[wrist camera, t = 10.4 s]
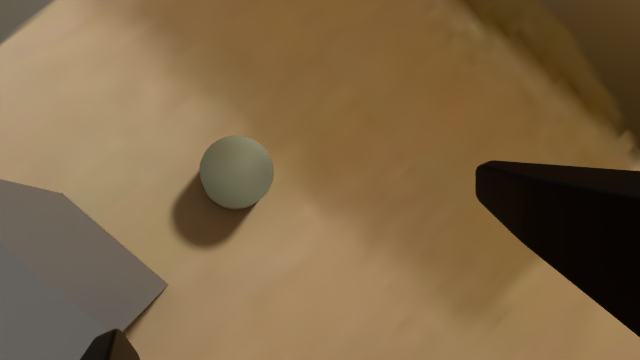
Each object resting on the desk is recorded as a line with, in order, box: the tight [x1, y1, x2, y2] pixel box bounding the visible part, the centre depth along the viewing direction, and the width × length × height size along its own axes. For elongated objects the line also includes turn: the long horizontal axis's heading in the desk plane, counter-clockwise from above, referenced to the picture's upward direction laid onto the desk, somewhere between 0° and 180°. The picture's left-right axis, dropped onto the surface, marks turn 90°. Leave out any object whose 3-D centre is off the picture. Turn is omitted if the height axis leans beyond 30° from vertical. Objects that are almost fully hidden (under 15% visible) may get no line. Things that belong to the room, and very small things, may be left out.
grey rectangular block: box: [0, 179, 168, 360], centre depth 13 cm, size 7×7×10 cm
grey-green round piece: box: [200, 136, 273, 210], centre depth 19 cm, size 3×3×2 cm
